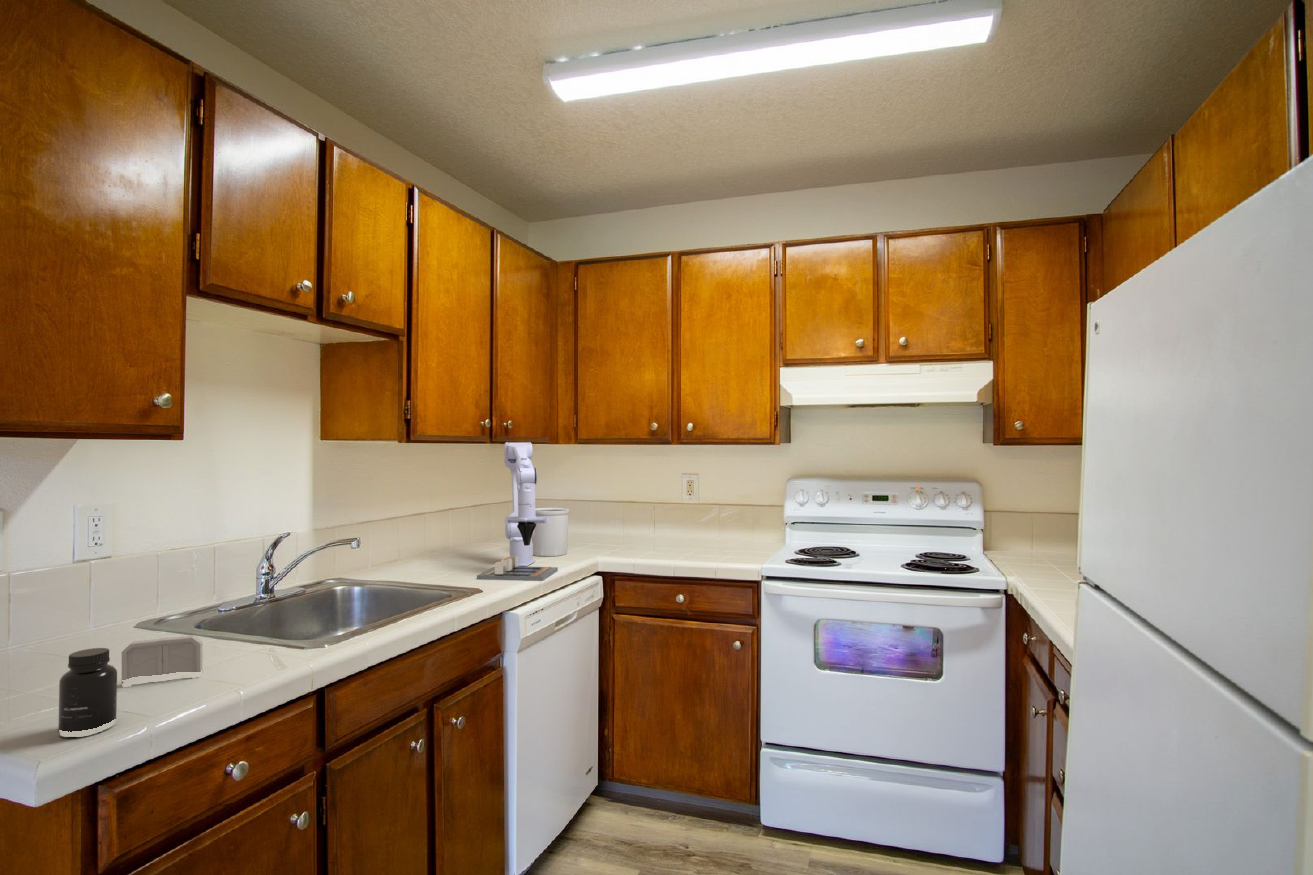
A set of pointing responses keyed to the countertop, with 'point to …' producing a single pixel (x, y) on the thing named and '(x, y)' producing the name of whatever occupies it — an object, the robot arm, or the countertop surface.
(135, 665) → the light switch
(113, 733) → the countertop surface
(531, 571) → the breaker panel
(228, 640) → the countertop surface
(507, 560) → the block
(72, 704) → the supplement bottle
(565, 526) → the utensil holder
